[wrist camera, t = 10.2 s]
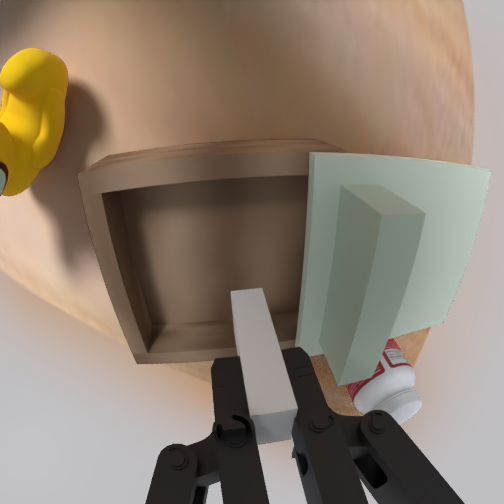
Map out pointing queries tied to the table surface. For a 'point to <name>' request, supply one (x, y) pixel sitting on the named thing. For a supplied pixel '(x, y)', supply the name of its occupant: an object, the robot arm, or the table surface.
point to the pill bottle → (388, 387)
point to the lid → (382, 252)
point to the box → (199, 240)
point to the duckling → (30, 116)
